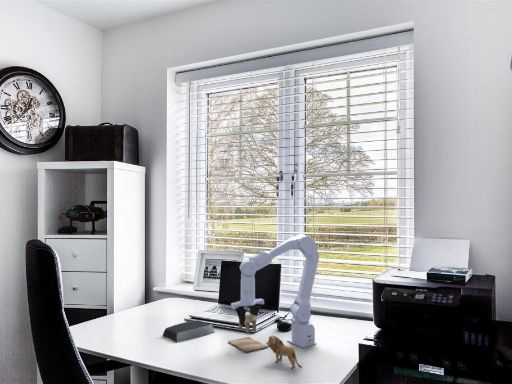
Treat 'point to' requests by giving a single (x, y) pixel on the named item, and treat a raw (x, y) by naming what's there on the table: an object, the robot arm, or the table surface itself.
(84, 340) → the table surface
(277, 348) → the lion figurine
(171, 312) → the table surface
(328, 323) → the table surface
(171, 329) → the external hard drive
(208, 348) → the table surface
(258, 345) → the walnut mat
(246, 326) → the birch stool
